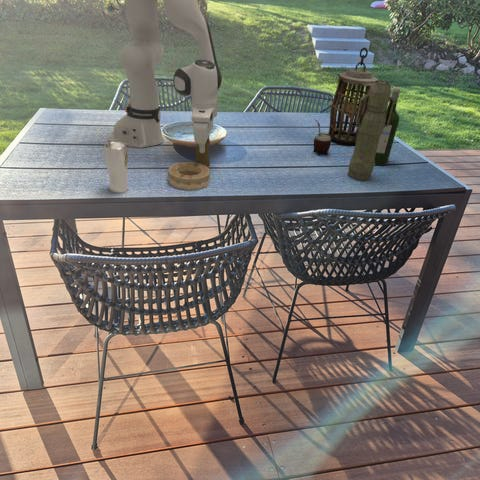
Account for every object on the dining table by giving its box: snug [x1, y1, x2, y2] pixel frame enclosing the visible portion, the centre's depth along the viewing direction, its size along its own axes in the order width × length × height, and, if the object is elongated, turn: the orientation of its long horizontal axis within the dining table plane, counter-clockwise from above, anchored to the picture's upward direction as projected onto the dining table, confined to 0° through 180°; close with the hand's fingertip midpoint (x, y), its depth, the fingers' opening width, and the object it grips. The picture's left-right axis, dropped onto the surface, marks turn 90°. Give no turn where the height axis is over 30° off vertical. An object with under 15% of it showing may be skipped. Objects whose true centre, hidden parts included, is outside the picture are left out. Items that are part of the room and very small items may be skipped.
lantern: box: [327, 47, 379, 147], centre depth 189 cm, size 19×19×40 cm
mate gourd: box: [312, 119, 332, 157], centre depth 179 cm, size 8×8×15 cm
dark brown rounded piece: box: [194, 137, 211, 168], centre depth 160 cm, size 6×6×11 cm
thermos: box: [347, 80, 395, 182], centre depth 156 cm, size 9×12×35 cm
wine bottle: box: [374, 87, 401, 166], centre depth 171 cm, size 8×8×30 cm
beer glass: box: [104, 141, 129, 194], centre depth 137 cm, size 7×7×15 cm
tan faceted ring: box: [167, 161, 211, 191], centre depth 150 cm, size 14×14×4 cm
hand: (204, 147), depth 159 cm, fingers open, 8 cm apart
